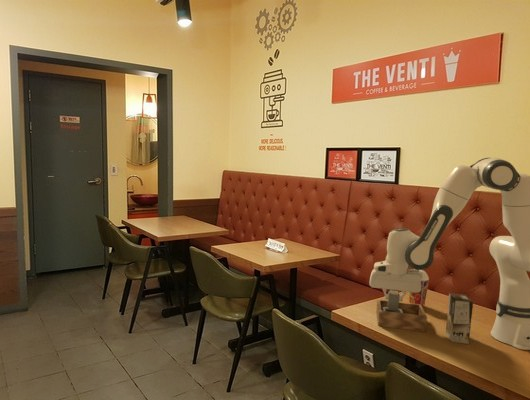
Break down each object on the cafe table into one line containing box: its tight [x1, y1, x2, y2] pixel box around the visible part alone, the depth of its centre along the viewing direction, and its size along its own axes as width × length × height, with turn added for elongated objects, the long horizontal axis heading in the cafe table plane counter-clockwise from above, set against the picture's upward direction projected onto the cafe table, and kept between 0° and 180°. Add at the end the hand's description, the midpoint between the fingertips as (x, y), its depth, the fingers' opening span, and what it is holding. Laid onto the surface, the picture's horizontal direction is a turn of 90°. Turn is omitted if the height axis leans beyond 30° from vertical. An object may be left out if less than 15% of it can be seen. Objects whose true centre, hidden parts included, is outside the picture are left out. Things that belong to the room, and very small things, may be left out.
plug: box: [387, 289, 401, 311], centre depth 164 cm, size 4×4×8 cm
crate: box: [375, 299, 428, 332], centre depth 164 cm, size 18×14×6 cm
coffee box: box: [445, 292, 474, 345], centre depth 151 cm, size 9×6×16 cm
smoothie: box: [408, 270, 430, 308], centre depth 183 cm, size 8×8×20 cm
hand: (393, 299), depth 164 cm, fingers closed on plug, 4 cm apart
